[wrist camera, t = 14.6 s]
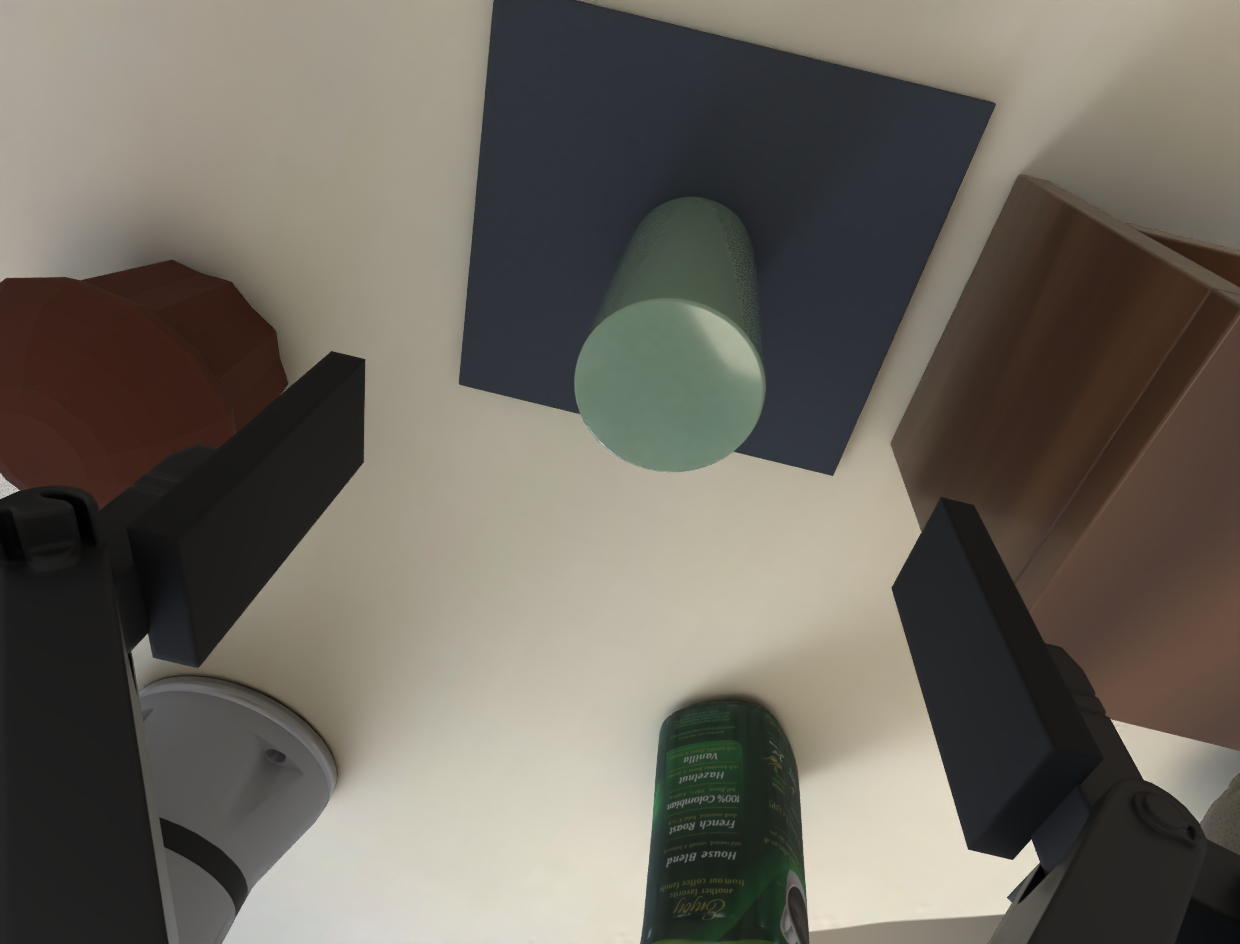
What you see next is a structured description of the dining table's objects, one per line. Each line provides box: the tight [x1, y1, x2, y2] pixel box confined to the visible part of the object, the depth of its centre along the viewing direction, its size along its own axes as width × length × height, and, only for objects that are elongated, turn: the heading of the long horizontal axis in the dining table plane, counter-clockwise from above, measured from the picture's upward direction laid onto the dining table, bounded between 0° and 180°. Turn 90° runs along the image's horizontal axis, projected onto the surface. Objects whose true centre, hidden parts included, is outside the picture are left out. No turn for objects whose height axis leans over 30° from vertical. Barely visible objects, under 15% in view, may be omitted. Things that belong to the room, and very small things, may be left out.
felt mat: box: [459, 0, 996, 476], centre depth 30 cm, size 18×16×1 cm
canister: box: [574, 197, 766, 472], centre depth 25 cm, size 5×5×12 cm
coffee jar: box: [640, 701, 809, 944], centre depth 39 cm, size 10×8×19 cm
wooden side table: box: [891, 175, 1240, 751], centre depth 25 cm, size 16×12×14 cm
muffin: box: [0, 260, 288, 511], centre depth 32 cm, size 12×11×10 cm
